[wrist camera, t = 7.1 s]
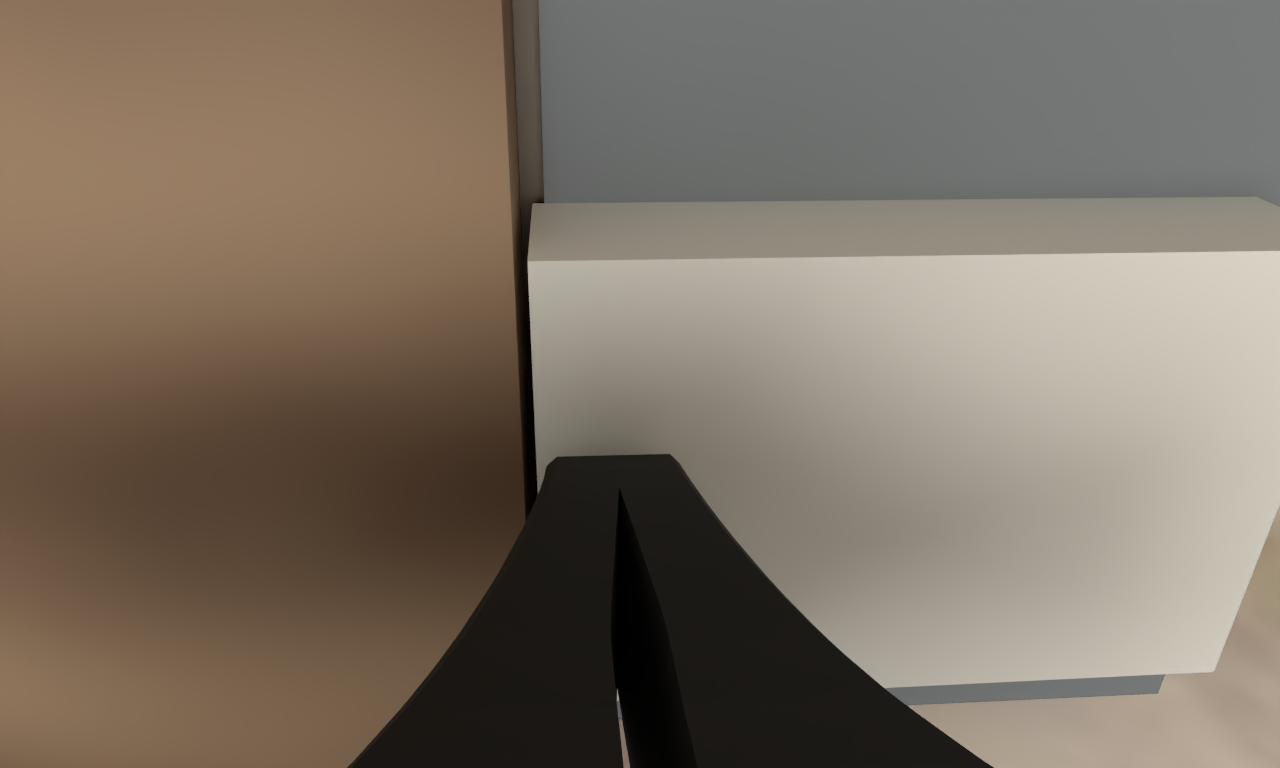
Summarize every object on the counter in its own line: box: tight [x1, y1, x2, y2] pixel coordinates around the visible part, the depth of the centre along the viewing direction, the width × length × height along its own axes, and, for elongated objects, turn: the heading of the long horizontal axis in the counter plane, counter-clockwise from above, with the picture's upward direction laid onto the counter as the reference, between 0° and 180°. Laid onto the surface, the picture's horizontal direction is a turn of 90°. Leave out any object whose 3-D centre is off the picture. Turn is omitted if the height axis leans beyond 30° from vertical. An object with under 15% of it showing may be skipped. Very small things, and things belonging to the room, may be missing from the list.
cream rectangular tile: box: [527, 197, 1280, 701], centre depth 12 cm, size 6×9×2 cm, turn 89°
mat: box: [538, 0, 1280, 719], centre depth 13 cm, size 11×10×1 cm
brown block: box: [0, 0, 533, 768], centre depth 11 cm, size 11×10×2 cm
